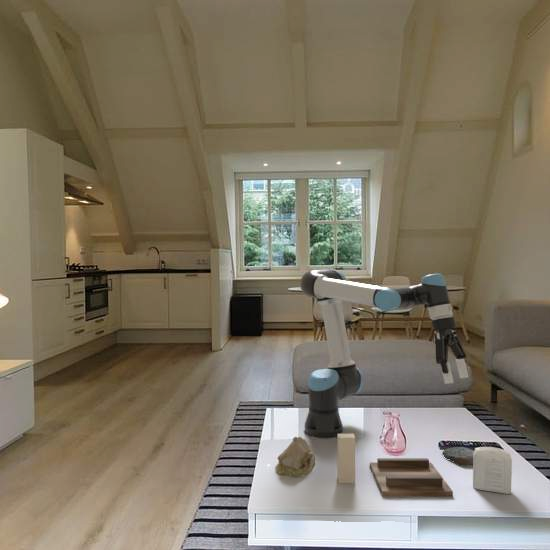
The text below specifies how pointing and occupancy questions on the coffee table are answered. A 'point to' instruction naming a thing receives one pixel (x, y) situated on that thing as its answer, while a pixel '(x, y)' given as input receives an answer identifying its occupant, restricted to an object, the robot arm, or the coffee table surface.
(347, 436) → the beige rectangular block
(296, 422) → the coffee table surface
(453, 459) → the fossil
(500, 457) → the white upright flat block
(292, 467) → the ceramic model
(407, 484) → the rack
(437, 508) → the coffee table surface
